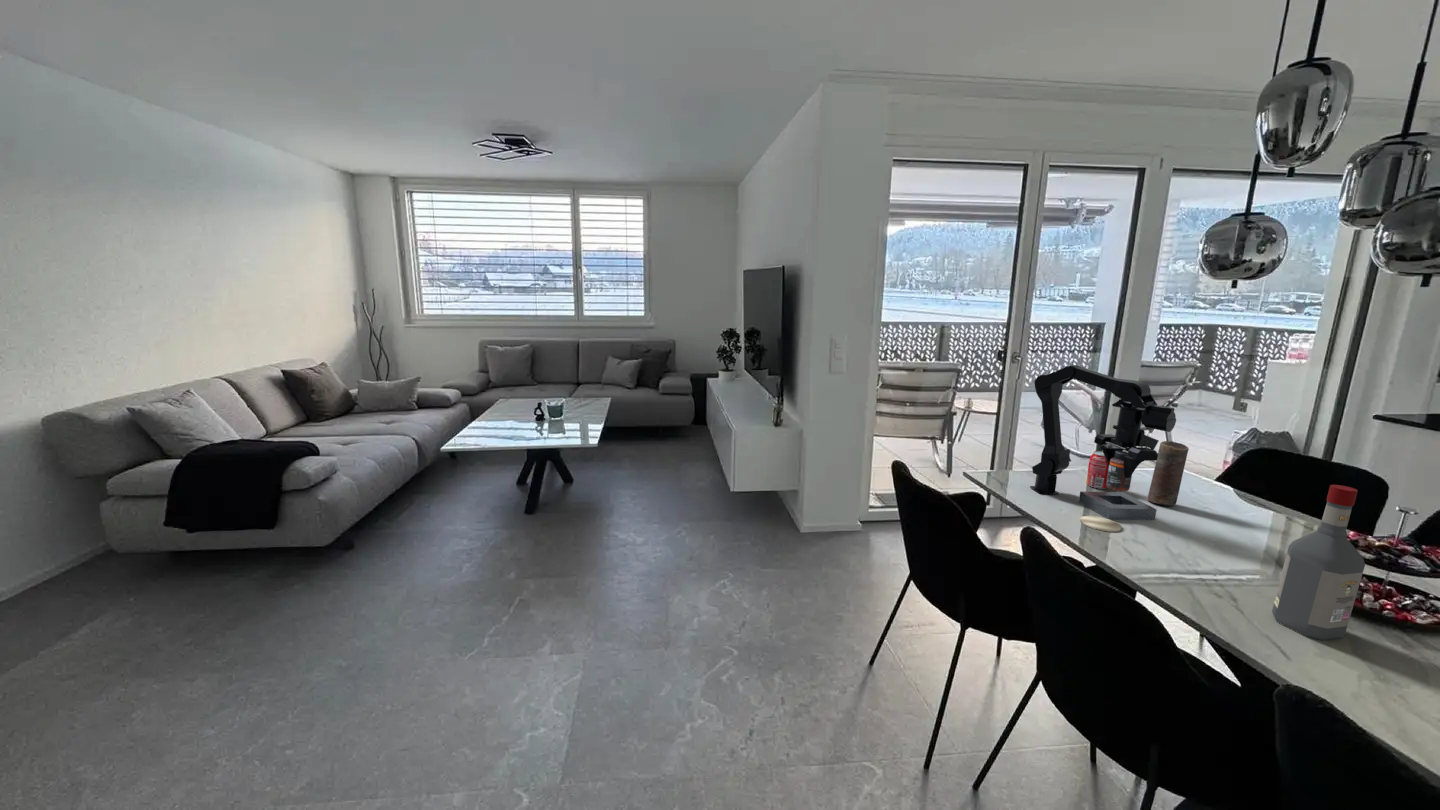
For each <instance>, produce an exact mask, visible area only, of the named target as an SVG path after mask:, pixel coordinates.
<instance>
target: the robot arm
mask: <svg viewBox="0 0 1440 810" xmlns="http://www.w3.org/2000/svg"><path fill="white" fill-rule="evenodd" d="M1073 380H1075V381H1079V382H1082V383H1084V384H1088V385H1091V386H1093V387H1096V388H1100V389H1102V390H1106V391H1107V392H1110V393H1111V394H1112V395H1113V396H1115V397H1116V398H1119V400H1117V401H1115V402H1113V403H1112V404H1111V406H1112V407H1116V408H1119V411H1118V417H1117V423H1116V424H1113V425H1112V429H1113V430H1115V432H1114V433H1115V435H1114V434H1108V433H1103V434H1102V433H1099V434H1096V436H1094V441H1093V442H1094V444H1097V445H1099V448H1100V449H1101V451H1102V452H1103V453H1104V455H1105V458H1106V460H1107V463H1108V466H1109V464H1110V460H1111V458H1113V457H1115V452H1116V451H1125V452H1128V455H1129V456H1123V462H1124V474H1125V478H1130V477H1131V475H1132V476H1133V474H1134V472H1135V471H1136V469H1137V468H1138V466H1140V464H1142V462H1145V461H1146V462H1147V461H1148V462H1149V461H1152V462H1156V461H1157V458H1158V451H1157V450H1155V449H1156V447H1157V445H1158V443H1159V440H1158V439H1156V438H1154V437H1151V436H1149V435H1147V434H1145V433H1146V432H1145V429H1144V428H1141V427H1142V425H1143V426H1144V427H1145V428H1147V429H1152V430H1157V431H1162V432H1166V433H1167V432H1168V433H1170V432H1172V431H1173V429H1174V428H1175V425H1176V422H1177V418H1176V416H1177V415H1176V412H1175V411H1176V410H1175V408H1174V407H1169V406H1168V407H1167V406H1160V405H1158V404H1157V402H1156V400H1155V399H1154V397H1153V395H1152V394H1151V387H1150V386H1149V384H1148V382H1147V383H1146V382H1144V381H1142V380H1140V381H1139V380H1134V379H1123V378H1116V377H1114V376H1111V375H1108V374H1105V373H1101V372H1097V371H1095V370H1091V369H1088V368H1086V367H1082V366H1081V365H1078V364H1072V365H1071V364H1070V365H1066V366H1065V367H1063V368H1061V369H1058V370H1055V371H1053V372H1050V373H1048V374H1040V375H1038V376H1037V377H1036V378H1035V379H1034V382H1033V383H1034V384H1033V385H1034V390H1035V393H1036V395H1037V397H1038V399H1039V401H1040V402H1041V409H1042V412H1041V413H1042V423H1043V424H1042V425H1043V436H1044V447H1043V450H1042V452H1041V455H1040V462H1038V463H1037V464H1035V465H1033V466H1032V467H1031V468H1032V469H1031V470H1032V474H1034V475H1036V476H1035V482H1034V485H1030V487H1029V488H1030V489H1032V490H1033V491H1035V492H1036V493H1038V494H1039V495H1060V492H1058V491H1057V490H1056V488H1057V481H1058V480H1057V478H1058V477H1057V476H1058V475H1060V474H1062V472H1063V471H1065V470H1066V469H1067V468H1069V466H1070V462H1072V460H1071V457H1070V456H1071V455H1070V454H1071V449H1069V448H1068V449H1065V447H1064V446H1063V442H1062V432H1061V431H1062V428H1061V420H1060V419H1061V417H1060V406H1059V405H1060V404H1059V403H1060V402H1059V401H1060V397H1061V395H1062V392H1063V385H1065V384H1067V383H1069V382H1071V381H1073Z"/></svg>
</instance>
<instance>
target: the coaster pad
mask: <svg viewBox="0 0 1440 810" xmlns="http://www.w3.org/2000/svg"><path fill="white" fill-rule="evenodd" d="M1079 520H1080V521H1079V522H1080V523H1081V524H1082V525H1084V526H1086V527H1089V528H1091V529H1094V530H1096V531H1101V532H1108V533H1117V532H1118V533H1119V532H1120V531H1121V530H1122V527H1123V526H1122V525H1121V524H1120V523H1118V522H1117V521H1114V520H1112V519H1107V518H1105V517H1103V516H1097V515H1083V516H1081V517H1080V519H1079Z"/></svg>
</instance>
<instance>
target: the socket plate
mask: <svg viewBox="0 0 1440 810" xmlns="http://www.w3.org/2000/svg"><path fill="white" fill-rule="evenodd" d="M1078 503H1080V504H1082V505H1083V506H1084V507H1087V508H1088V509H1090V510H1092V511H1093V512H1095V513H1097V515H1100V516H1101V517H1102V518H1106V519H1110V520H1112V521H1114V520H1117V521H1119V520H1121V521H1155V520H1156V515H1157V508H1154V507H1153V506H1151V505H1149V504H1147V503H1145V502H1144V501H1141V500H1139V499H1137V498H1135V497H1134V496H1132V495H1129V494H1128V493H1126V492H1125V491H1080V492H1079V497H1078Z"/></svg>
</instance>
